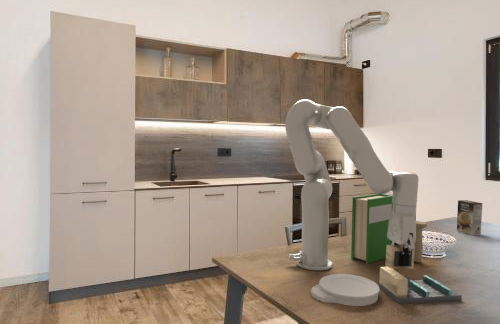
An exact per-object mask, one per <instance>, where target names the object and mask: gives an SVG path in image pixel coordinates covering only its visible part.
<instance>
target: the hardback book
mask: <svg viewBox="0 0 500 324" xmlns="http://www.w3.org/2000/svg"><path fill="white" fill-rule="evenodd" d="M392 195H393V194H387V193H386V194H377V193H372V194H366V195H357V196H352V203H351V204H352V205H351V206H352V207H351V208H352V210H351V213H352V214H351V249H350V250H351V251H350V252H351V255H350V258H351V259H352V260H356V259H359V260H362V261H365V264H367V265H368V264H373V263H375V262H378V261H380V260H383V259H386V247H387V245H392V244H391V241H390V240H389V239H388V238H387V229H388V222H389V217H390V213H391V209H392Z"/></svg>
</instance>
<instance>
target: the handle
mask: <svg viewBox="0 0 500 324" xmlns="http://www.w3.org/2000/svg"><path fill="white" fill-rule="evenodd" d="M427 227H428V223H427V222H425V221H420V220H416V240H415V244H414V246H415V251H414V263H421V262H422V256H423V245H424V244H423V229H425V228H427Z"/></svg>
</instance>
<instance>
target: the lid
mask: <svg viewBox="0 0 500 324" xmlns="http://www.w3.org/2000/svg"><path fill="white" fill-rule="evenodd" d="M380 291H381V289H380V288H379V286H378V283H376V282H375V281H373V280H371V279H370V278H367V277H365V276H360V275H355V274H349V273H334V274H333V273H332V274H328V275H324V276H322V278H320V279H319V282H318V284H316V285H313V286H312V288H311V290H310V293H311V296H312V298H314V299H315V298H316V299H315V300H317V301H319V300H320V301H319V302H322V303H332V304H333V303H334V304H341V305H345V306H351V307H352V306H353V307H362V306H370V305H372V304H375V303H376V302H377V301H378V299H379V294H380Z"/></svg>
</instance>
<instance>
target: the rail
mask: <svg viewBox="0 0 500 324" xmlns="http://www.w3.org/2000/svg"><path fill="white" fill-rule="evenodd" d="M377 285H378V286H379V289H380V290H381V291H382V292H384V293H385V294H387V295H388V296H389V297H390V298H391V299H392V300H394V301H395V302H396V303H398V304H400V305H402V304H419V303H420V304H421V303H436V302H439V303H440V302H457V301H458V302H459V301H462V299H463V295H462V294H461V293H459V292H457V291H455V290H453V288H451V287H448V286H447V285H445V284H444V283H442V282H440V281H438V280H436V279H435V278H432V277H431V276H428V275H426V274H422V279H411V278H410V277H407V276H406V275H403V274H401V273H400V272H398V271H397V270H396V269H392V268H390V267H387V266H379V281H377Z"/></svg>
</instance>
